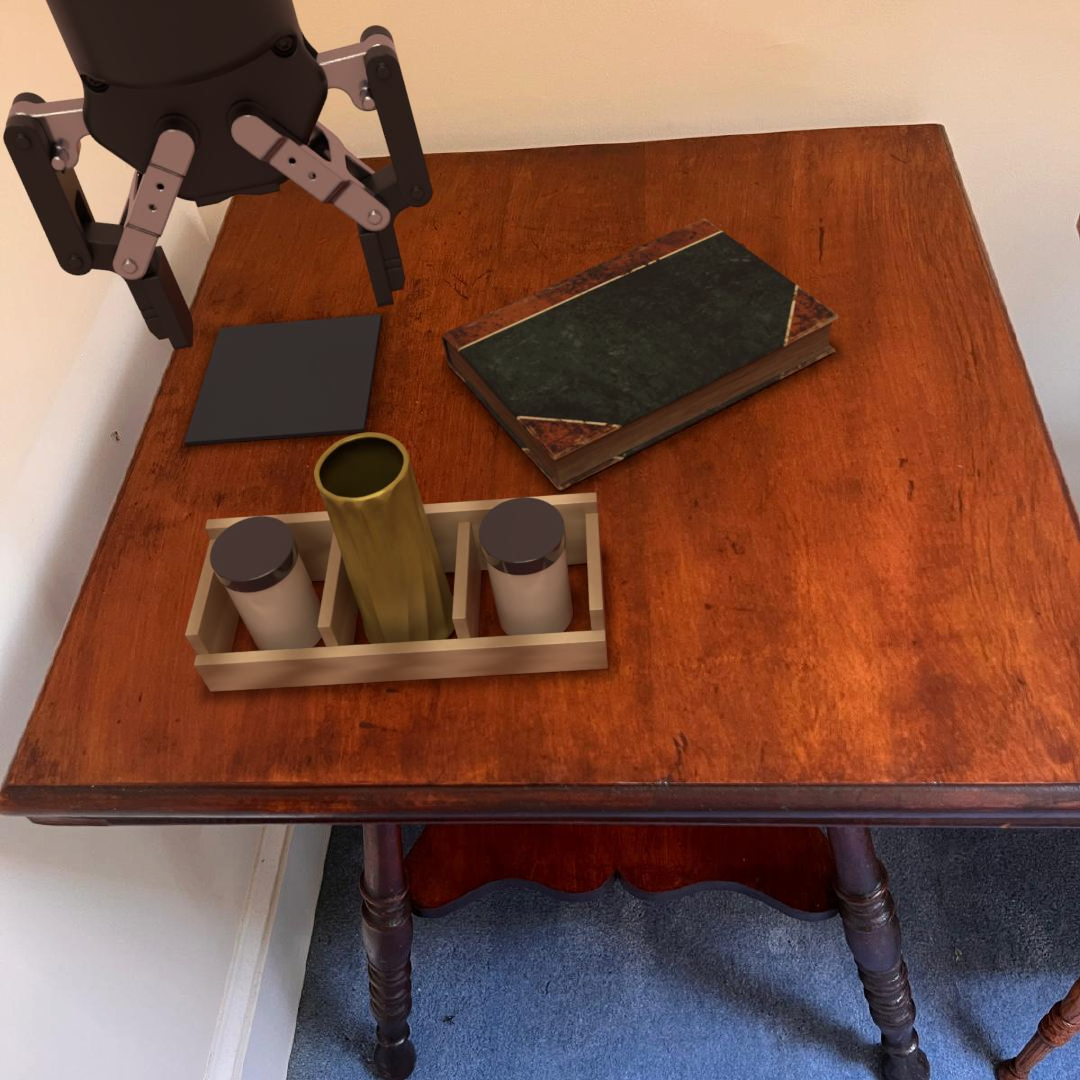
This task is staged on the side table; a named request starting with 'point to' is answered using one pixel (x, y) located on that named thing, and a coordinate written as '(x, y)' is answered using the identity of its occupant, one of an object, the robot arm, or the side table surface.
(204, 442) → the mat
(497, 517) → the spice jar right
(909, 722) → the side table surface
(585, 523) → the rack
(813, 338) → the book
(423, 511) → the vase
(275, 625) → the spice jar left
